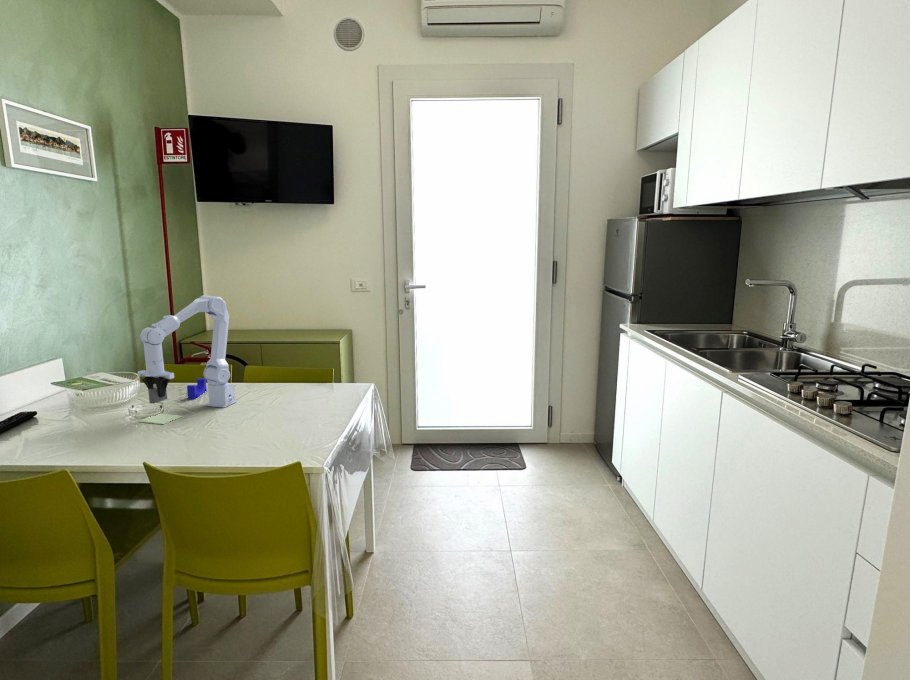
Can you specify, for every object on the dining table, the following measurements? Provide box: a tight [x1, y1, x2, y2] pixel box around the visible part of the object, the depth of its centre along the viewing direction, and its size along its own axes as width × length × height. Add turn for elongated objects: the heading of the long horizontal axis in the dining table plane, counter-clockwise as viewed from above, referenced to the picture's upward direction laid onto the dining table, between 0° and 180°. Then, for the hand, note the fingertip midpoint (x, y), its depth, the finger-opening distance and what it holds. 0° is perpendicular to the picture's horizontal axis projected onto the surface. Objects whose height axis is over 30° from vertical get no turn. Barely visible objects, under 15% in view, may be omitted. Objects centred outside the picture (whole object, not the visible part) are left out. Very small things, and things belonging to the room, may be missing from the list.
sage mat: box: [138, 413, 183, 425], centre depth 199 cm, size 11×9×1 cm
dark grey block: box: [147, 384, 168, 404], centre depth 197 cm, size 3×7×6 cm, turn 164°
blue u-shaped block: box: [186, 378, 208, 400], centre depth 229 cm, size 12×4×6 cm, turn 4°
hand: (158, 396), depth 197 cm, fingers closed on dark grey block, 3 cm apart
